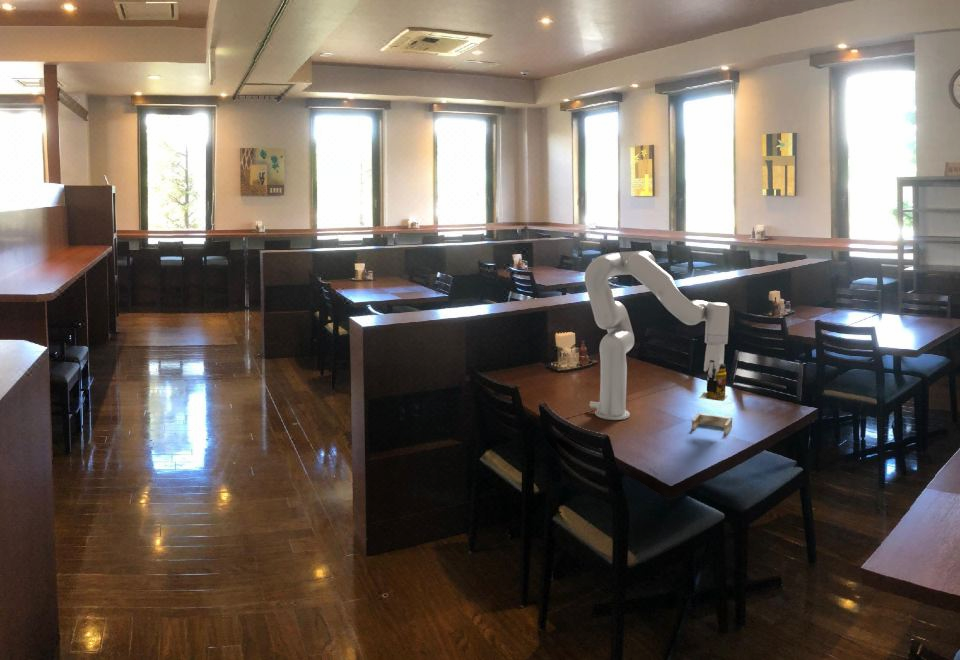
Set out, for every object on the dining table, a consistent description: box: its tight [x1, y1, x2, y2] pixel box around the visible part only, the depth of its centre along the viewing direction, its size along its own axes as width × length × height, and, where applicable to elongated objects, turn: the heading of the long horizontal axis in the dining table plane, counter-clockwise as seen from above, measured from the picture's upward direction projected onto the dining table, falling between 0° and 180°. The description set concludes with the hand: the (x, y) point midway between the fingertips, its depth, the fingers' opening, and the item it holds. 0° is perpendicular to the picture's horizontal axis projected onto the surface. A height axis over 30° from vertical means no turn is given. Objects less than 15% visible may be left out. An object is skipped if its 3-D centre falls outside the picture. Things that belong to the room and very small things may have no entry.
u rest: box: [691, 412, 733, 436], centre depth 268 cm, size 12×9×4 cm
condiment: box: [698, 363, 728, 402], centre depth 264 cm, size 7×8×12 cm
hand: (713, 388), depth 264 cm, fingers closed on condiment, 6 cm apart
